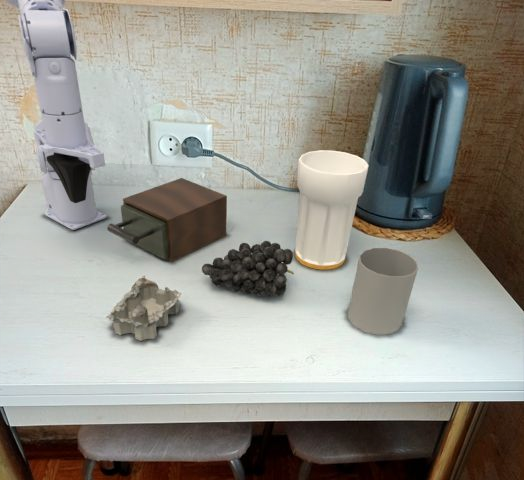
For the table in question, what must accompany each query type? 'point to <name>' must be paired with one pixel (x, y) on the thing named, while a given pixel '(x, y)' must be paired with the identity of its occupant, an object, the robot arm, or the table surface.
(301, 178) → the cup
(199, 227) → the cabinet
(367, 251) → the cup
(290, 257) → the fruit
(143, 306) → the egg carton
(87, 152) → the robot arm
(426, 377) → the table surface
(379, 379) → the table surface
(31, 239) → the table surface
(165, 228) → the drawer
